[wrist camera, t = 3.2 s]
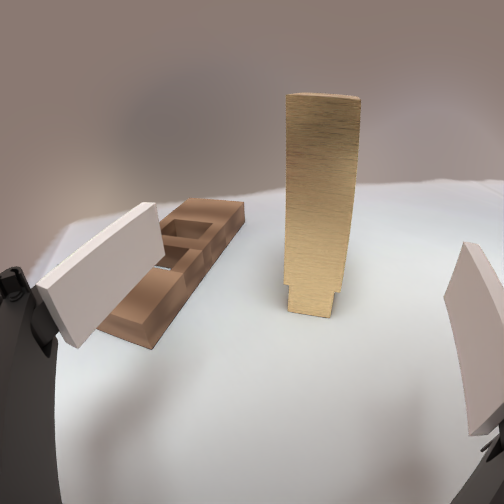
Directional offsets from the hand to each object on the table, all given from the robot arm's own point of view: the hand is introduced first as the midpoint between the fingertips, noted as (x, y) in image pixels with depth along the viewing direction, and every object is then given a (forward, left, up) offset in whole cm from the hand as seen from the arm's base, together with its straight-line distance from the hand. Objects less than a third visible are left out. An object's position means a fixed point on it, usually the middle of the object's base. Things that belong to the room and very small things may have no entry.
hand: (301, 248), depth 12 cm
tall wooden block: (-8, -5, -9) cm, 14 cm away
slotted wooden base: (-1, -16, -9) cm, 19 cm away
